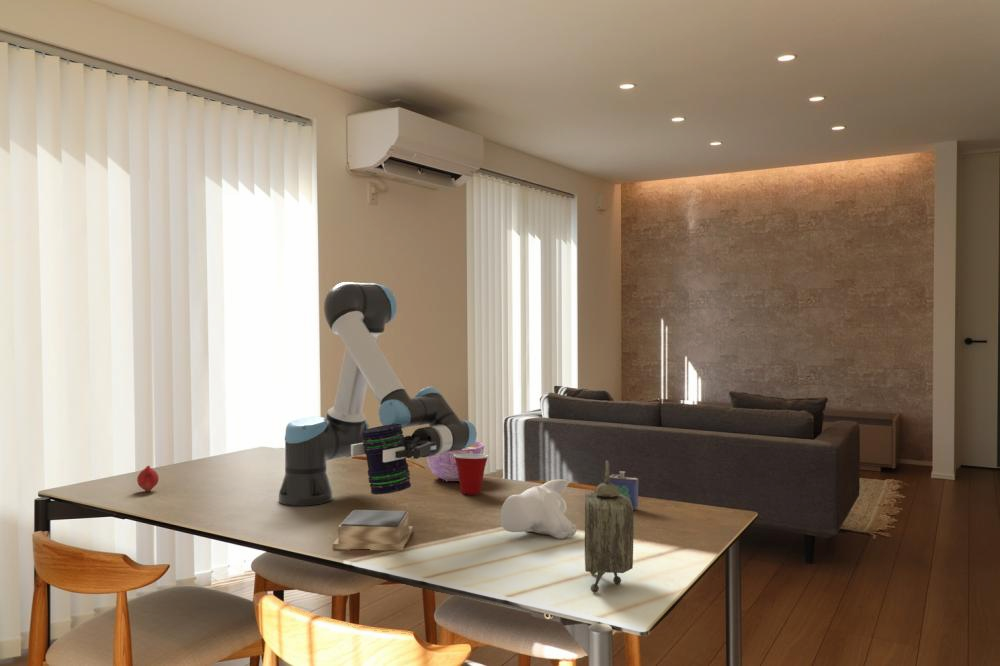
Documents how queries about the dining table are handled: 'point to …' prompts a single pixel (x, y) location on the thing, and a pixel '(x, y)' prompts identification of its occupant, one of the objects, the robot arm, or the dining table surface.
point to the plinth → (374, 530)
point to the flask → (626, 487)
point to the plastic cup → (470, 472)
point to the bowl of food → (451, 462)
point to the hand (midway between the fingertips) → (367, 453)
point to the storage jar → (385, 473)
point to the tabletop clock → (608, 531)
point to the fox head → (538, 511)
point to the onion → (147, 478)
